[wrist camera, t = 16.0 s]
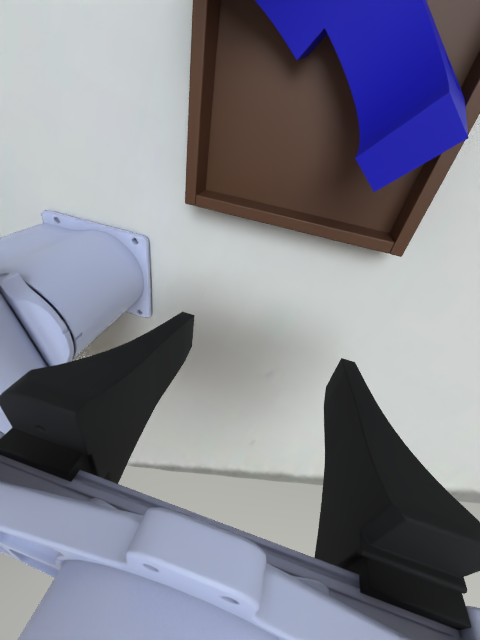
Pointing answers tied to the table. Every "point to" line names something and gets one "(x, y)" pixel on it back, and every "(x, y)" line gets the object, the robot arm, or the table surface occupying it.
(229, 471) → the table surface
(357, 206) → the tray
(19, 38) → the table surface
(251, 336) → the table surface
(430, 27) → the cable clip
